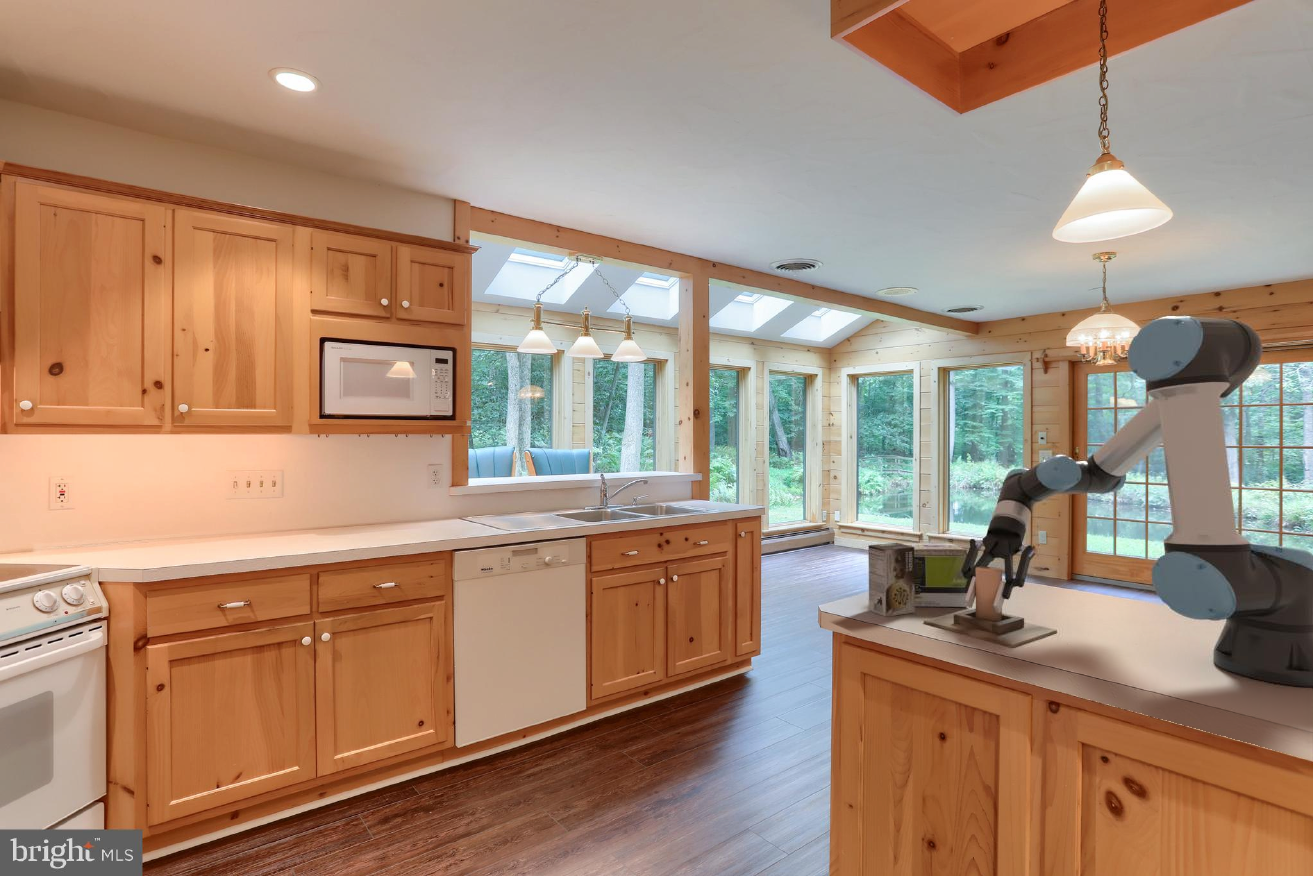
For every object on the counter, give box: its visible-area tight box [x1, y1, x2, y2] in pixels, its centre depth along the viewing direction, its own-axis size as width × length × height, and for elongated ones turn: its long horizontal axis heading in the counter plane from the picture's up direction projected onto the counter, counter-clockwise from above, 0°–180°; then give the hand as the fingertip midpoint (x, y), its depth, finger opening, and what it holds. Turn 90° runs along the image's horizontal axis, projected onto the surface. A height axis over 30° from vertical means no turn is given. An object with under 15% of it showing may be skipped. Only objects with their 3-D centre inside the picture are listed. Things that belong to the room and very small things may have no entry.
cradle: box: [922, 608, 1058, 648], centre depth 140 cm, size 20×18×3 cm
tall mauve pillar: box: [975, 566, 1003, 622], centre depth 140 cm, size 5×5×11 cm
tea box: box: [899, 542, 969, 608], centre depth 161 cm, size 15×10×15 cm, turn 84°
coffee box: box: [868, 542, 916, 617], centre depth 153 cm, size 9×6×16 cm
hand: (982, 606), depth 137 cm, fingers closed on tall mauve pillar, 5 cm apart
